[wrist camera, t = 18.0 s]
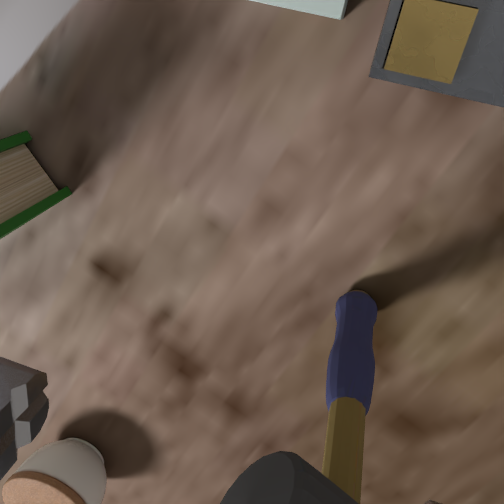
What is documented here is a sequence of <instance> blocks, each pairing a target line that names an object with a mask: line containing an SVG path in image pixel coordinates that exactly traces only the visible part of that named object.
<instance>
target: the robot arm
mask: <svg viewBox="0 0 504 504" xmlns="http://www.w3.org/2000/svg"><path fill="white" fill-rule="evenodd" d="M47 385H48V383H47V374H46V373H44V372H41V371H38V370H36V369H33V368H30V367H27V366H25V365H22V364H19V363H17V362H14V361H11V360H8V359H6V358H3V357H0V480H1V479H2V478H3V477H4V475H5V474H6V473H7V472H8V470H9V469H10V468H11V467H12V465H13V464H14V463H15V462H16V461H17V449H18V448H20V447H22V446H24V445H26V444H29V443H31V442H32V441H33V439H34V438H35V437H36V435H37V434H38V433H39V432H40V430H41V428H42V426H43V424H44V422H45V420H46V418H47V413H48V409H49V399H48V398H47V397H46V395H45V394H44V392H43V389H44V388H45V387H46V386H47ZM425 504H442V503H438V502H435V501H432V500H429V501H427V502H425Z"/></svg>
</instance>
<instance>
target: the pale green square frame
mask: <svg viewBox="0 0 504 504" xmlns="http://www.w3.org/2000/svg"><path fill="white" fill-rule="evenodd" d="M250 1H255V2H260V3H264V4H269V5H274V6H278V7H283V8H288V9H293V10H297V11H302V12H307V13H311V14H316V15H321V16H326V17H330V18H335V19H340V20H341V19H344V14H345V10H346V6H347V2H348V0H250Z"/></svg>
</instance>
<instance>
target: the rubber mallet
mask: <svg viewBox="0 0 504 504" xmlns="http://www.w3.org/2000/svg"><path fill="white" fill-rule="evenodd" d="M335 316H336V320H337V328H336V335H335V341H334V344H333V347H332V350H331V352H330V355H329V359H328V368H327V381H326V404H327V407H328V410H329V416H328V424H327V433H326V441H325V449H324V458H323V466H322V473H320V472H319V471H318V470H316V469H315V468H314V467H313V466H311V465H310V464H309V463H307V462H306V461H305V460H304V459H302V458H301V457H300V456H298V455H297V454H295V453H292V452H285V451H279V452H276V453H273V454H270V455H267V456H264V457H262V458H260V459H259V460H257V461H256V462H254V463H253V464H251V465H250V466H249V467H248V468H247V469H246V470H245V471H244V472H243V473H242V474H241V475H240V476H239V477H238V478H237V479H236V481H235V482H234V483H233V485H232V486H231V487H230V488H229V490H228V491H227V493H226V494H225V496H224V498H223V500H222V501H221V503H220V504H360V497H361V480H362V464H363V447H364V430H365V416H366V415H367V413H368V411H369V407H370V403H371V397H372V390H373V383H374V373H375V360H374V354H373V349H372V336H373V326H374V324H375V322H376V317H377V305H376V303H375V301H374V300H373V299H372V298H371V297H370V296H369V294H367V293H366V292H364V291H361V290H352V291H349V292H347V293H346V294H344V295H343V296H341V297H340V298H339V299H338V301H337V303H336V312H335Z"/></svg>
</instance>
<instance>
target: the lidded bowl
mask: <svg viewBox="0 0 504 504" xmlns="http://www.w3.org/2000/svg"><path fill="white" fill-rule="evenodd" d="M106 483H107V477H106V470H105V467H104V459H103V456H102V454H101V453H100V452H99V450H98V449H97V448H96V447H94V446H93V445H92V444H90V443H89V442H87V441H85V440H82V439H79V438H66V439H64V440H59V441H54V442H51V443H49V444H46V445H44V446H43V447H41V448H39V449H38V450H37V451H35V452H34V453H33V454H32V455H31V456H30V457H28V458H27V459H26V460H25V461H24V462H23V463H22V465H21V466H20V467H19V468H18V469H17V471H16V472H15V473H14V474H13V475H12V476H11V477H10V478H9V479H8V480H7V481H6V483H5V484H4V486H3V490H2V496H3V501H4V503H5V504H101V503H102V501H103V498H104V495H105V490H106Z"/></svg>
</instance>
